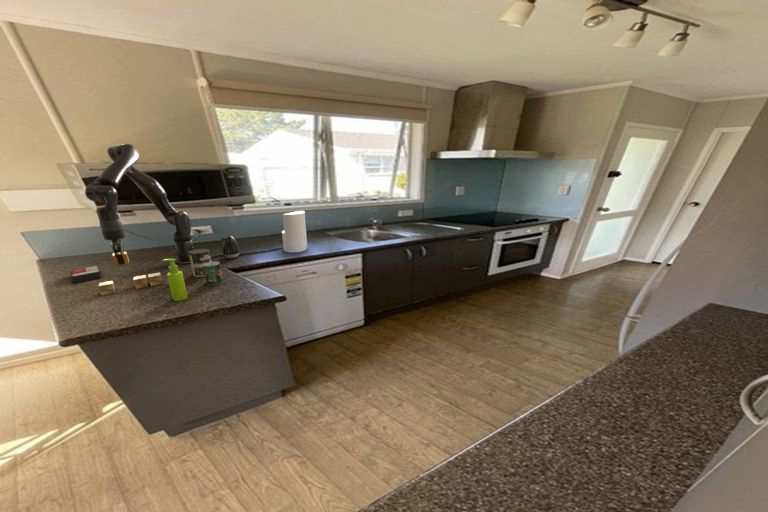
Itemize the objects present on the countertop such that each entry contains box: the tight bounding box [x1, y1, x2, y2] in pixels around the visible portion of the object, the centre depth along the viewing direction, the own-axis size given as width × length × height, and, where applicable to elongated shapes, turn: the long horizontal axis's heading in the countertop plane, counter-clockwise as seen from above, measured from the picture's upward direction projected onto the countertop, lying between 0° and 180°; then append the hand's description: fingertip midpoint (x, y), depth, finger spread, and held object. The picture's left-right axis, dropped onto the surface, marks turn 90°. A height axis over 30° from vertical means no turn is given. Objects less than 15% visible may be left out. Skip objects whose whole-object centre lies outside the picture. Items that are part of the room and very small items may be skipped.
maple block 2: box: [147, 272, 163, 287], centre depth 153 cm, size 5×5×5 cm
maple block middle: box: [132, 274, 149, 290], centre depth 149 cm, size 5×5×5 cm
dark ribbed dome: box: [220, 235, 241, 260], centre depth 193 cm, size 10×10×15 cm
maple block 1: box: [97, 280, 116, 296], centre depth 141 cm, size 5×5×5 cm
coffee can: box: [188, 247, 212, 278], centre depth 165 cm, size 10×10×14 cm
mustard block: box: [112, 251, 130, 266], centre depth 139 cm, size 5×5×5 cm
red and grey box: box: [70, 265, 103, 284], centre depth 159 cm, size 11×4×15 cm
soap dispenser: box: [161, 258, 189, 302], centre depth 134 cm, size 6×7×20 cm
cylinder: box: [281, 210, 308, 253], centre depth 212 cm, size 17×17×28 cm
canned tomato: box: [203, 260, 224, 286], centre depth 154 cm, size 8×8×11 cm
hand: (122, 262), depth 140 cm, fingers closed on mustard block, 5 cm apart
